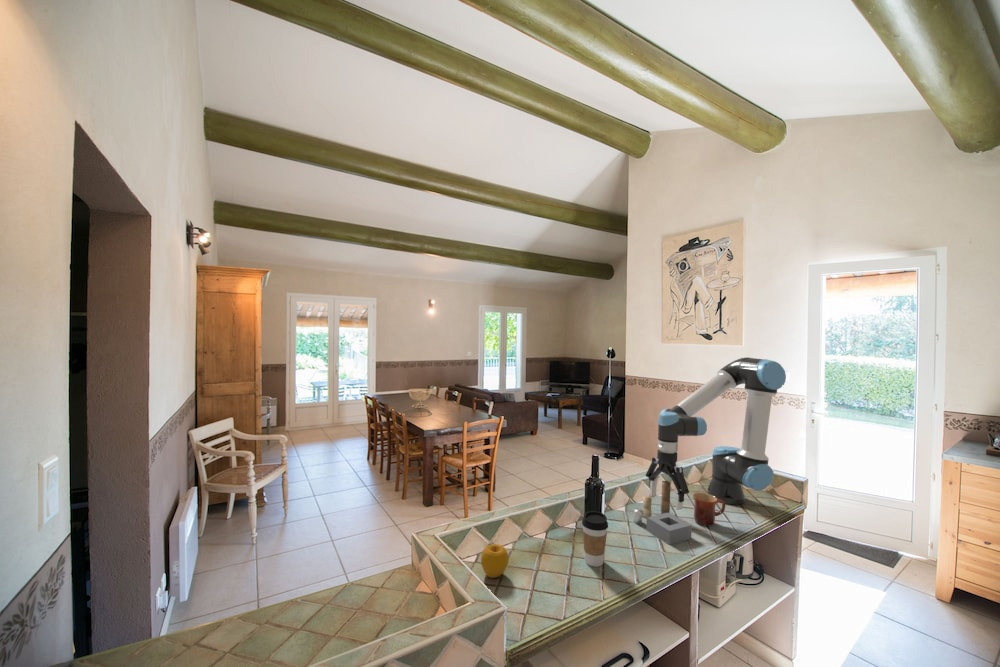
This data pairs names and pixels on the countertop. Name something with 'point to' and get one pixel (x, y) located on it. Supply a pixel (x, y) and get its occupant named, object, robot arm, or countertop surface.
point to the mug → (706, 508)
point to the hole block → (669, 528)
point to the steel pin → (638, 516)
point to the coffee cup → (594, 537)
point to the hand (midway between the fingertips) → (665, 502)
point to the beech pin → (647, 506)
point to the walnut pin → (665, 497)
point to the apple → (494, 560)
